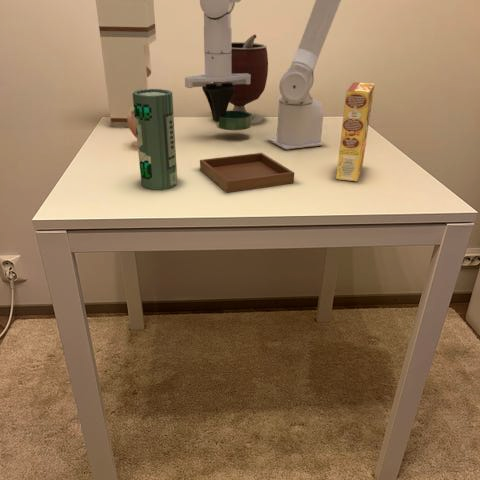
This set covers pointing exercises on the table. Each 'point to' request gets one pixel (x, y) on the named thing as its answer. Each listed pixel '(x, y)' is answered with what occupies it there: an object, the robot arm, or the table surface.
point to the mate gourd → (251, 62)
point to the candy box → (354, 130)
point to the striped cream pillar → (125, 51)
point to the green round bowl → (235, 120)
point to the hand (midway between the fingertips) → (218, 120)
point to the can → (155, 138)
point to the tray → (246, 172)
